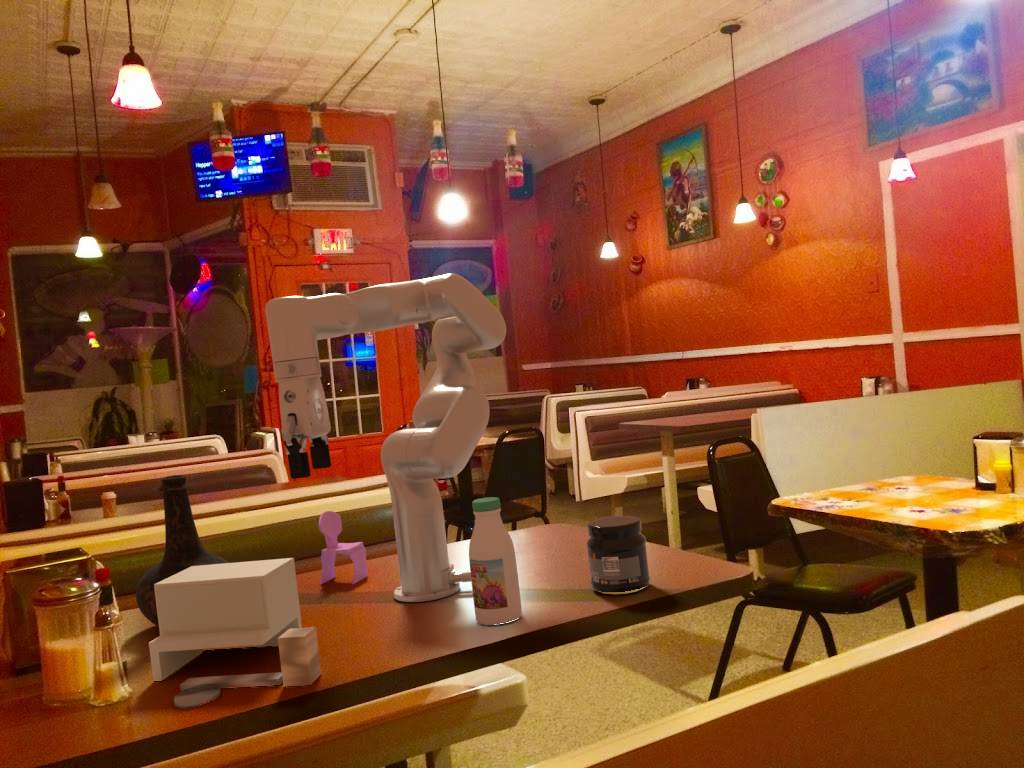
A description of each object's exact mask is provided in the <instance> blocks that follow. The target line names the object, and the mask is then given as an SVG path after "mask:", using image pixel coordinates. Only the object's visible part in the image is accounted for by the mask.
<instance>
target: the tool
mask: <svg viewBox="0 0 1024 768" xmlns="http://www.w3.org/2000/svg"><path fill="white" fill-rule="evenodd" d="M318 643H319V642H318V634H317V627H316V626H310V627H306V626H305V627H302V628H292V629H289V630H287V631H286V632H285V633H284V634H282V635H281V636H280V637H279V638H278V645H279V646H278V650H279V661H280V669H281V671H279V672H278V671H277V672H265V673H248V674H232V675H230V674H229V675H216V676H215V675H214V676H201V677H199V676H198V677H197V676H196V677H188V678H187V679H185V680H184V681H183V682H182V683H180V684H179V689H180V692H181V691H183V690H185V689H188V688H191V687H194V686H198V685H204V684H216V685H219V686H220V688H228V687H245V686H246V687H248V686H250V687H251V686H268V687H271V686H270V685H279V686H280V684H281V683H282V682H283V683H282V684H283V688H284V687H285V686H286V688H288V687H287V686H302V687H304V686H303V685H311V684H312V683H313V682H314V681H315V680H316V679H317V678H318V677H319V676H320V675H321V676H322V669H321V661H320V652H319V644H318ZM321 676H320V677H321ZM320 677H319V678H320ZM319 678H318V679H319ZM318 679H317V680H318ZM317 680H316V681H317ZM316 681H315V682H316ZM315 682H314V683H315ZM314 683H313V684H314ZM282 684H281V685H282ZM313 684H312V685H313ZM312 685H311V686H312ZM251 688H252V687H251Z"/></svg>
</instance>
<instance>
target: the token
mask: <svg viewBox="0 0 1024 768" xmlns="http://www.w3.org/2000/svg"><path fill="white" fill-rule="evenodd" d="M220 693H221V689H220V686H219V685H216V684H204V685H198V686H194V687H191V688H188V689H185V690H183V691H181V690H180V692H178V693H176V694H175V695H174V697H173V703H174V707H176V706H177V707H179V708H178V709H187V708H186V707H193V706H198V705H200V704H203V703H205V702H208V701H211V700H213V699H215V698H217V697H218V696H219V695H220ZM221 694H222V693H221ZM220 696H221V695H220ZM220 696H219V697H220ZM219 697H218V698H219ZM218 698H217V699H218ZM177 707H176V708H177ZM180 707H181V708H180ZM198 707H199V706H198ZM193 708H194V707H193Z"/></svg>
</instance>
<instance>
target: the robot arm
mask: <svg viewBox="0 0 1024 768" xmlns="http://www.w3.org/2000/svg"><path fill="white" fill-rule="evenodd" d="M265 316H266V317H265V318H266V324H267V330H268V331H267V332H268V338H269V344H270V345H269V346H270V352H271V358H272V365H273V373H274V374H273V375H274V379H275V384H276V383H278V395H279V396H278V399H279V400H278V401H279V411H280V419H281V420H280V421H281V430H280V432H281V435H282V438H283V445H284V446H285V454H286V455H287V462H288V467H289V475H290V479H292V480H295V479H303V478H309V477H311V475H312V473H311V466H312V469H313V470H319V469H329V468H330V467H332V461H331V454H330V446H329V442H330V441H329V437H328V434H329V433H330V432H331V429H332V427H331V421H330V416H329V415H330V414H329V409H328V404H327V399H326V395H325V394H326V393H325V390H324V387H323V384H322V379H321V378H322V377H323V376H322V369H321V362H320V353H319V347H318V341H320V340H321V341H322V340H327V339H332V338H333V339H334V338H339V337H343V336H346V335H353V334H361V333H363V334H365V333H374V332H375V333H376V332H381V331H387V330H393V329H397V328H403V327H408V326H412V325H418V324H423V323H428V322H433V321H435V323H434V325H433V327H432V331H431V341H432V344H433V349H434V352H435V356H436V363H437V364H436V370H435V372H434V373H433V375H432V378H431V379H430V381H429V382H428V384H427V385H426V387H425V389H424V390H423V392H422V393H421V395H420V397H419V399H418V400H417V401H416V404H415V405H414V408H413V410H412V423H413V427H414V428H405V429H400V430H396V431H394V432H393V433H390V434H389V435H388V436H387V437H386V438H385V440H384V441H383V443H382V445H381V449H380V460H381V465H382V469H383V472H384V475H385V478H386V481H387V484H388V490H389V493H390V500H391V507H392V516H393V517H392V518H393V525H394V526H393V528H394V534H395V542H396V553H397V561H398V569H399V578H400V586H398V587H396V588H395V590H394V591H393V597H394V599H395V600H397V601H399V602H404V603H420V602H423V603H424V602H430V601H435V600H440V599H442V598H443V599H445V598H447V597H449V596H452V595H454V594H455V593H457V592H458V591H459V590H460V588H461V586H460V583H461V582H462V583H468V582H469V583H470V582H471V572H470V570H469V569H461V570H457V569H456V568H455V569H454V563H450V560H449V552H448V544H447V543H448V542H447V534H446V525H445V517H444V507H443V500H442V496H441V492H440V489H439V487H438V486H437V484H436V482H435V479H450V478H453V477H456V476H457V475H458V474H460V473H461V472H462V471H463V470H464V469H465V467H466V465H467V464H468V463H469V461H470V458H471V457H472V455H473V453H474V452H475V449H476V448H477V446H478V444H479V442H480V440H481V438H482V437H483V435H484V433H485V431H486V429H487V426H488V423H489V421H490V419H489V418H490V413H491V412H490V402H489V399H488V397H487V395H486V394H485V392H484V391H482V389H480V388H479V387H477V386H475V384H476V375H475V372H474V369H473V367H472V365H471V362H470V361H469V357H468V355H467V353H473V352H480V351H485V350H486V351H487V350H491V349H495V348H497V347H498V346H499V347H500V345H501V344H503V342H504V341H505V339H506V335H507V324H506V321H505V318H504V317H503V315H502V313H501V312H500V310H498V308H497V307H496V306H495V305H494V304H493V303H492V302H491V301H490V300H489V299H488V298H487V297H486V296H485V295H484V294H483V293H482V292H481V291H480V290H479V289H478V288H477V287H476V286H475V285H474V284H473V283H471V282H470V281H469V280H467V278H464V277H463V276H462V275H460V274H458V273H445V274H442V275H441V274H440V275H437V276H432V277H426V278H422V279H421V278H420V279H413V280H407V281H400V282H391V283H383V284H382V283H381V284H377V285H373V286H369V287H365V288H364V287H363V288H360V289H358V290H355V291H350V292H347V293H339V292H333V293H326V294H322V295H316V296H304V295H303V296H302V295H291V296H282V297H276V298H272V299H270V300H268V301H267V302H266V305H265ZM307 440H309V443H310V444H311V446H309V451H310V453H308V451H306V446H307ZM309 454H310V458H311V465H310V461H309V459H310V458H309ZM471 583H472V582H471Z"/></svg>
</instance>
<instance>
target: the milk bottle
mask: <svg viewBox="0 0 1024 768" xmlns="http://www.w3.org/2000/svg"><path fill="white" fill-rule="evenodd" d="M471 505H472V506H471V507H472V512H473V513H472V514H473V515H474V520H475V521H474V526H473V529H472V530H473V531H472V533H471V537H470V539H469V547H468V559H469V569H470V570H469V571H470V572H471V589H472V598H473V607H474V608H473V609H474V615H475V620H476V622H477V623H478V624H479V623H480V624H479V625H482V624H484V625H483V626H488V625H494V624H500V623H506V622H509V621H512V620H515V619H517V618H519V617H520V616H521V617H522V615H523V610H522V609H523V608H522V601H521V590H520V583H519V581H520V580H519V573H518V565H517V558H516V552H515V546H514V542H513V539H512V537H511V535H510V533H509V532H508V530H507V527H506V526H505V525H504V522H503V520H502V517H501V511H502V508H501V501H500V497H494V496H490V497H482V498H477V499H475V500H473V501H472V503H471Z"/></svg>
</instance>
